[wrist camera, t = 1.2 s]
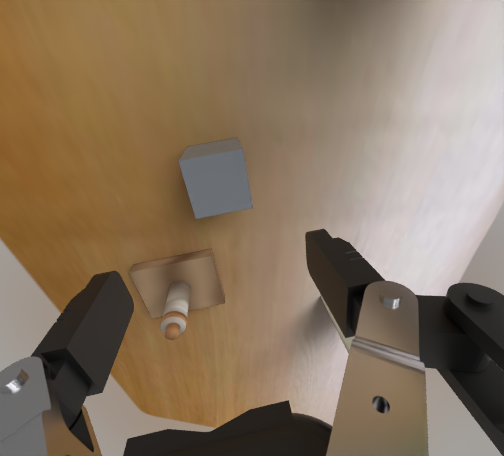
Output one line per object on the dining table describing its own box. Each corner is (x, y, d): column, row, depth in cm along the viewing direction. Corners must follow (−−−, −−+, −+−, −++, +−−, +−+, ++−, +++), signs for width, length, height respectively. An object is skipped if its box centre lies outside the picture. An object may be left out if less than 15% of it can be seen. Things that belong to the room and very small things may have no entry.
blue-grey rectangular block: (236, 137, 25) (243, 148, 19) (245, 185, 28) (252, 207, 22) (186, 146, 25) (178, 160, 19) (199, 194, 27) (195, 219, 22)
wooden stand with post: (211, 248, 31) (210, 296, 23) (224, 294, 35) (227, 348, 27) (133, 264, 31) (105, 318, 23) (154, 309, 34) (137, 368, 27)
